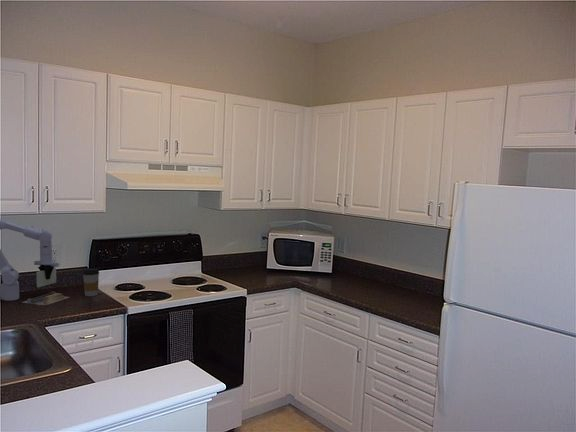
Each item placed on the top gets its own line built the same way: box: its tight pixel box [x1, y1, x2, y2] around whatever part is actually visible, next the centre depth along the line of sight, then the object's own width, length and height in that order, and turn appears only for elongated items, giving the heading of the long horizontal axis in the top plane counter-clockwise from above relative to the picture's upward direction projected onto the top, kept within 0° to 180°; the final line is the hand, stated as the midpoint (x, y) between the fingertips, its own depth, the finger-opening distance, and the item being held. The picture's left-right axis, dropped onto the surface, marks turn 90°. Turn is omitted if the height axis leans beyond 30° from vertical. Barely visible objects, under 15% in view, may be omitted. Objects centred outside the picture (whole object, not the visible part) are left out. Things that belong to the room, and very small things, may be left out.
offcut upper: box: [45, 292, 63, 300], centre depth 244 cm, size 4×8×2 cm, turn 163°
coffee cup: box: [82, 267, 100, 297], centre depth 258 cm, size 8×8×15 cm
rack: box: [21, 291, 70, 306], centre depth 246 cm, size 15×17×3 cm
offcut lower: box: [43, 295, 66, 304], centre depth 244 cm, size 4×10×2 cm, turn 163°
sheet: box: [35, 267, 57, 288], centre depth 251 cm, size 1×12×8 cm, turn 162°
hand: (46, 279), depth 252 cm, fingers closed on sheet, 1 cm apart
